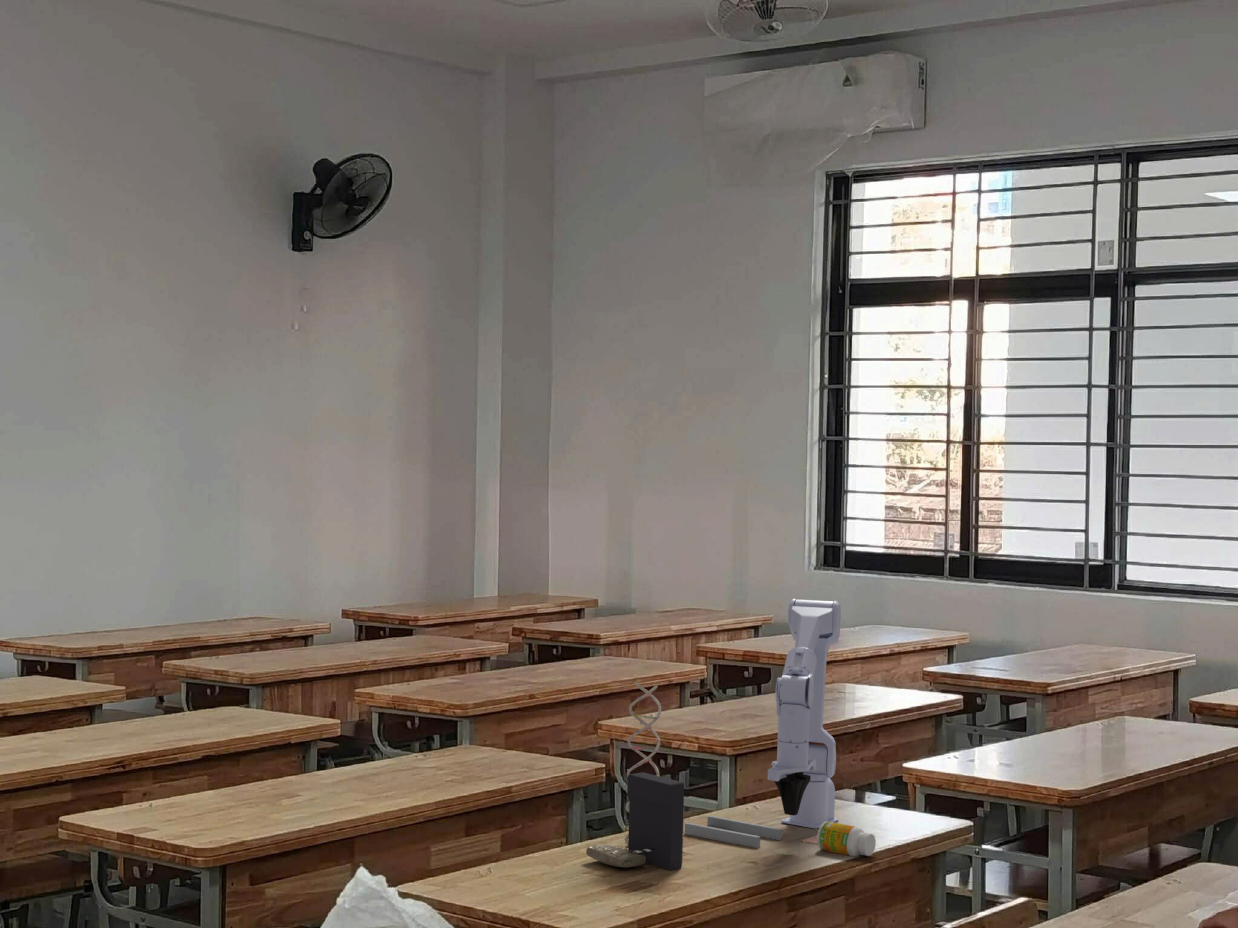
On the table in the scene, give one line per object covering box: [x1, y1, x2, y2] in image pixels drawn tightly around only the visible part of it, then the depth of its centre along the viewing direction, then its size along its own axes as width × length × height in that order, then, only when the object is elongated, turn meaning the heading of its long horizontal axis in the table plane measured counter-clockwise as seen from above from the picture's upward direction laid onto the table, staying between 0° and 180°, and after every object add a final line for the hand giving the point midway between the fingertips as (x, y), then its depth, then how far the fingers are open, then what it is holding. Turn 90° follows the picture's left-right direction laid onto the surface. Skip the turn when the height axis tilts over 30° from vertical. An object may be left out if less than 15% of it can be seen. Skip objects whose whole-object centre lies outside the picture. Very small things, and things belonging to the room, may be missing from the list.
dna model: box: [624, 681, 662, 846], centre depth 283 cm, size 7×6×30 cm
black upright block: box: [626, 771, 685, 872], centre depth 273 cm, size 11×4×15 cm, turn 42°
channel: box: [684, 815, 783, 848], centre depth 294 cm, size 9×16×2 cm, turn 54°
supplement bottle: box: [816, 821, 877, 857], centre depth 283 cm, size 5×5×10 cm
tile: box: [801, 834, 818, 845], centre depth 292 cm, size 10×10×1 cm
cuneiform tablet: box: [586, 844, 656, 868], centre depth 270 cm, size 6×4×12 cm
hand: (790, 814), depth 286 cm, fingers closed
